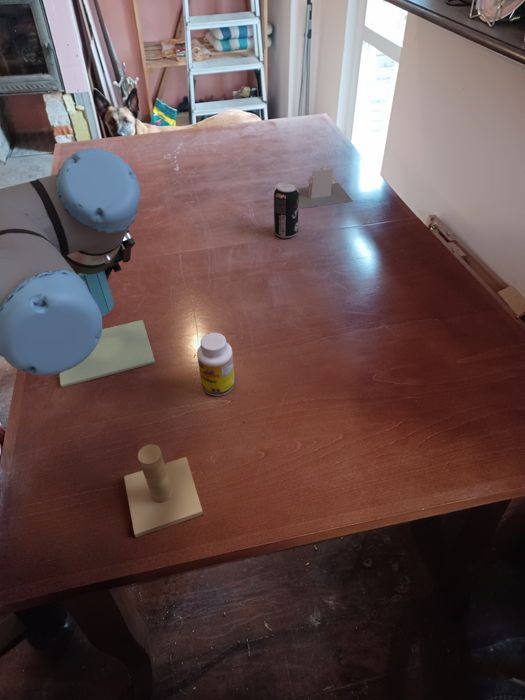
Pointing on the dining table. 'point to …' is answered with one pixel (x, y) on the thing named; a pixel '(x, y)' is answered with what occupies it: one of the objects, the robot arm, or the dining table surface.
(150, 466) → the stand
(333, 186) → the architectural model
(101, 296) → the ring
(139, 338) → the mat
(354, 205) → the dining table surface
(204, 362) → the supplement bottle
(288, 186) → the beverage can
